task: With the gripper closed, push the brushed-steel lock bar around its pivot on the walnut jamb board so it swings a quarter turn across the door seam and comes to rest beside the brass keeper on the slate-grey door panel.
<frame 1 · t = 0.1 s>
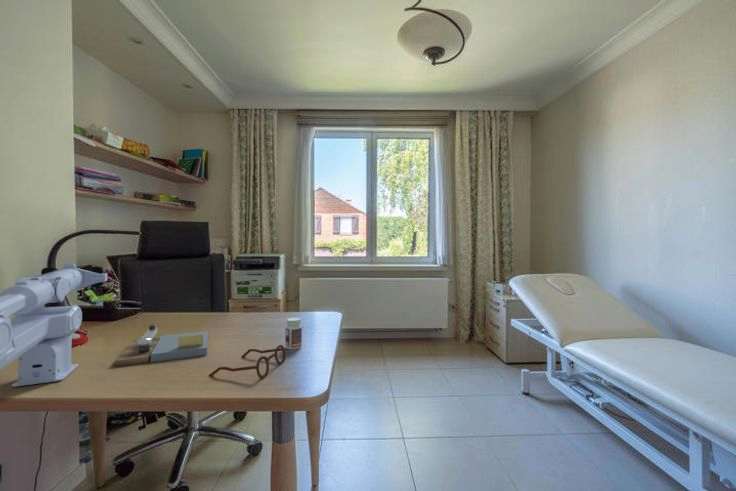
hand: (83, 273, 88), 22 cm above the table, tool horizontal, fingers open, 7 cm apart
door panel: (182, 348, 90), on the table
tracker holder: (72, 344, 94), on the table
brass keeper: (190, 353, 86), resting on door panel
lock bar: (148, 335, 88), point 4 cm above the table, hinge at 0.0°
jamb board: (140, 353, 86), on the table
pill bottle: (293, 347, 92), on the table
glasses: (250, 370, 77), on the table
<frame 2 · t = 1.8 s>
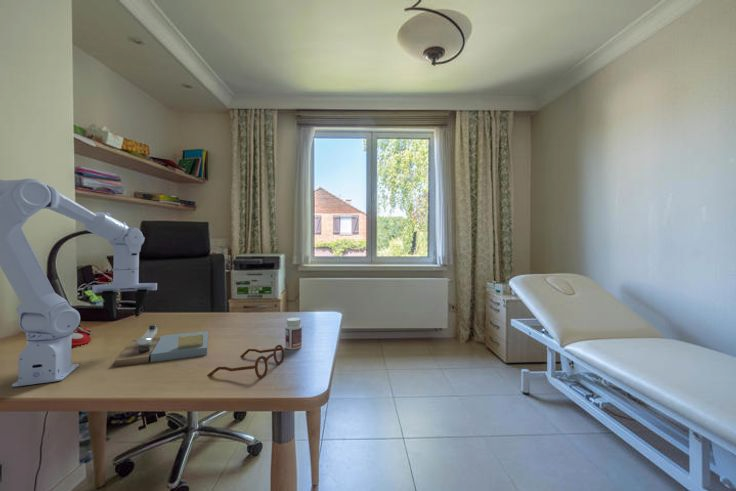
hand: (125, 316, 89), 9 cm above the table, tool pointing down, fingers open, 5 cm apart
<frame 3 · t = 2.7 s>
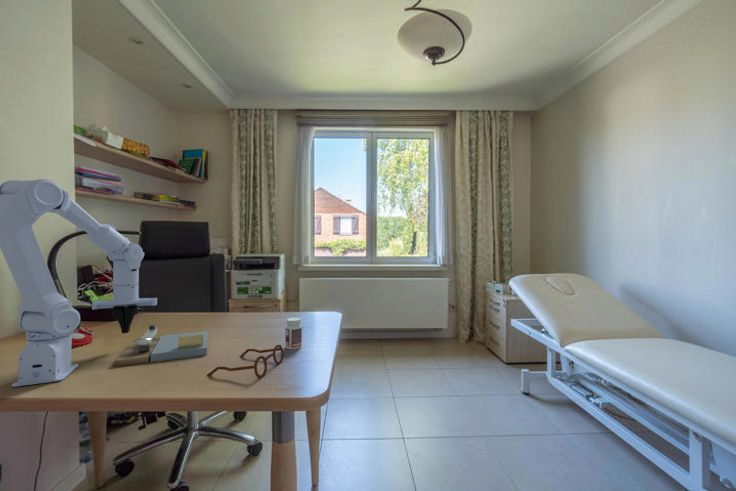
hand: (125, 332, 89), 5 cm above the table, tool pointing down, fingers closed
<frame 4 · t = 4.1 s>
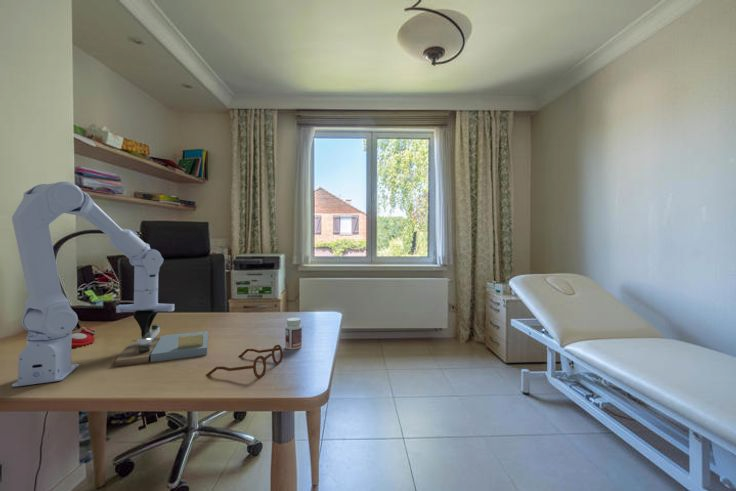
hand: (145, 336, 91), 3 cm above the table, tool pointing down, fingers closed, pressing on lock bar
lock bar: (149, 335, 88), point 4 cm above the table, hinge at 3.0°, touching gripper
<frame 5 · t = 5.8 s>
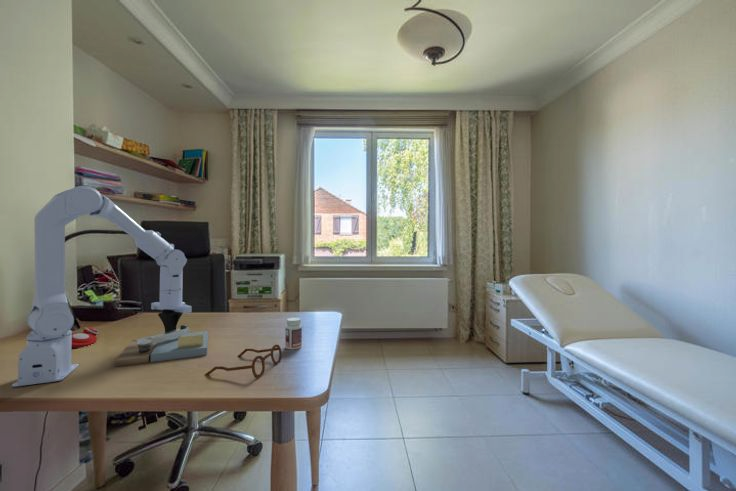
hand: (170, 335, 92), 3 cm above the table, tool pointing down, fingers closed, pressing on lock bar
lock bar: (164, 335, 88), point 4 cm above the table, hinge at 44.4°, touching gripper
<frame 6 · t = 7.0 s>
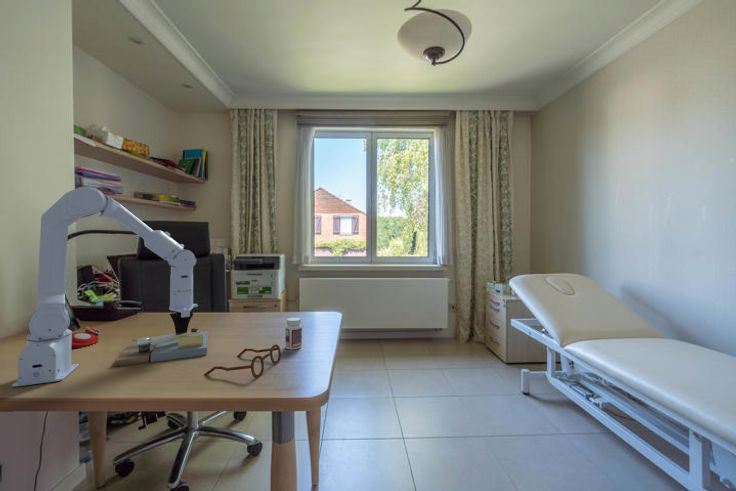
hand: (181, 337, 90), 3 cm above the table, tool pointing down, fingers closed, pressing on lock bar
lock bar: (169, 336, 87), point 4 cm above the table, hinge at 74.3°, touching gripper
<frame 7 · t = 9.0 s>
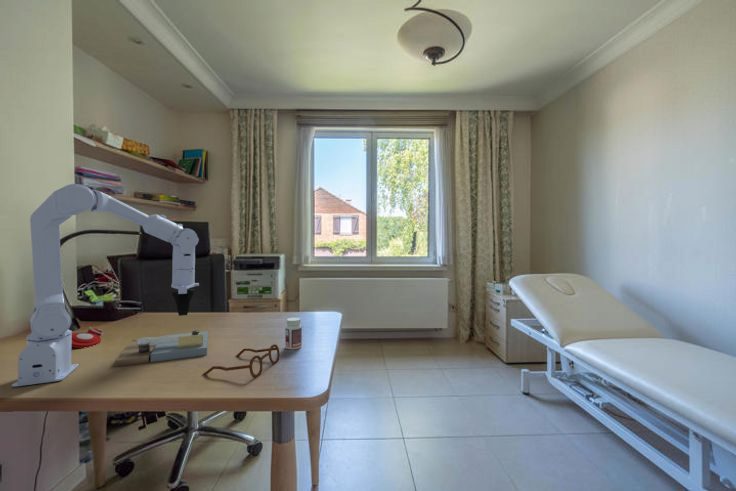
hand: (183, 315, 92), 9 cm above the table, tool pointing down, fingers closed
lock bar: (169, 338, 86), point 4 cm above the table, hinge at 89.7°
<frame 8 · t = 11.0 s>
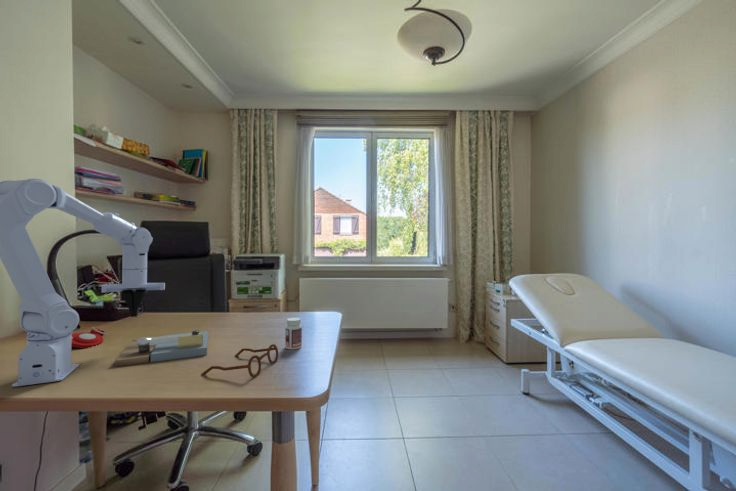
hand: (134, 316, 89), 9 cm above the table, tool pointing down, fingers closed
at the end: lock bar at +90° (first picture: +0°); the gripper is holding nothing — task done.
